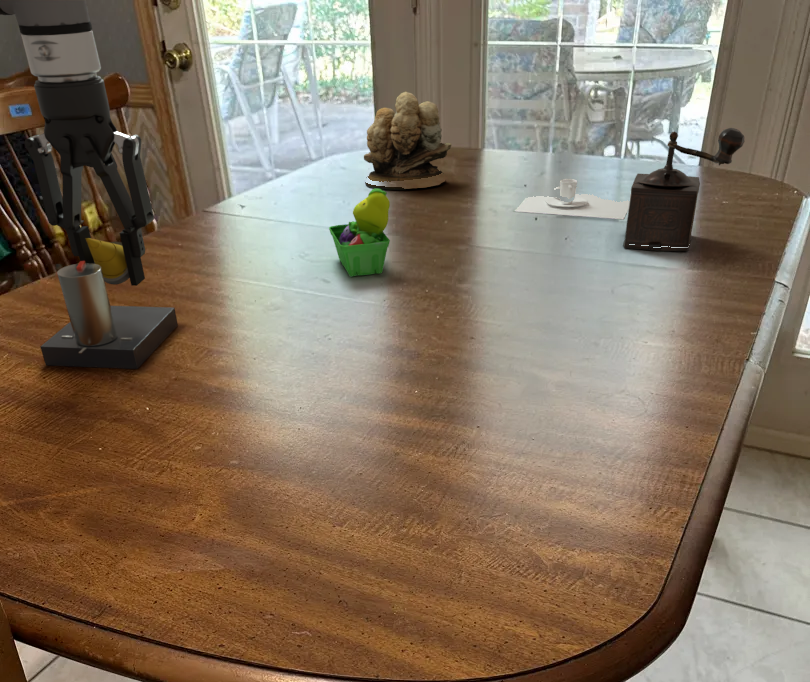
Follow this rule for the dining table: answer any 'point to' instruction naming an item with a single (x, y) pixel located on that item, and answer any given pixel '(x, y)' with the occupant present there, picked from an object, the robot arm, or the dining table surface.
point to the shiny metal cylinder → (87, 303)
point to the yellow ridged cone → (109, 260)
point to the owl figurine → (405, 142)
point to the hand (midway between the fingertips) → (115, 281)
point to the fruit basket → (364, 236)
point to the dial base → (128, 351)
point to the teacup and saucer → (574, 204)
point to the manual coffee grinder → (671, 198)
